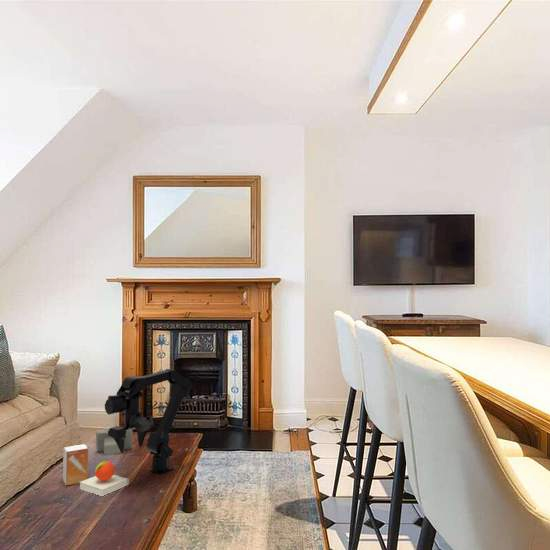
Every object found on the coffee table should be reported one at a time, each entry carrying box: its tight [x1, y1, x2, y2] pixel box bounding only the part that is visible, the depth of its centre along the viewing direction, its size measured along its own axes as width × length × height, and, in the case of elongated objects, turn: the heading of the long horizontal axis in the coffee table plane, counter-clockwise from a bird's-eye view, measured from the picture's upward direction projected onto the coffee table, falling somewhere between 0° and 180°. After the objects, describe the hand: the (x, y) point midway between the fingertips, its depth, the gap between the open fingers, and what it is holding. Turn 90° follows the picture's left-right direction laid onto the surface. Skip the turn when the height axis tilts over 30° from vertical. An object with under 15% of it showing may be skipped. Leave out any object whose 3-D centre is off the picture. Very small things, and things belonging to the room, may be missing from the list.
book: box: [79, 473, 130, 497], centre depth 182 cm, size 12×13×3 cm
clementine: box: [94, 460, 115, 481], centre depth 182 cm, size 8×7×7 cm
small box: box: [62, 443, 89, 486], centre depth 189 cm, size 8×6×13 cm
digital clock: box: [95, 428, 134, 456], centre depth 223 cm, size 16×9×11 cm, turn 94°
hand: (131, 449), depth 189 cm, fingers open, 9 cm apart
